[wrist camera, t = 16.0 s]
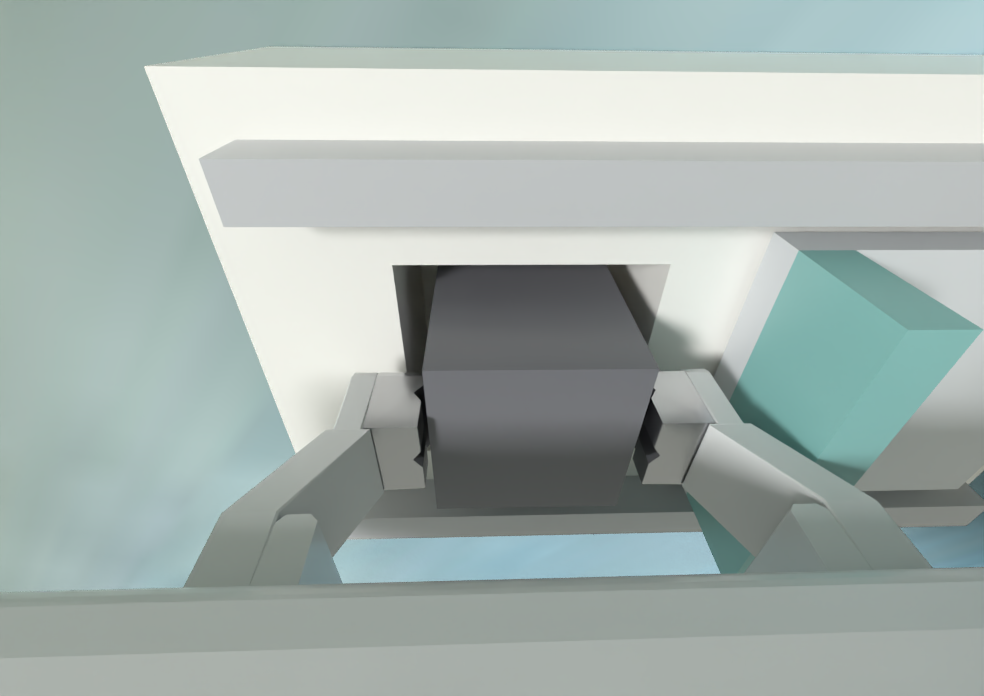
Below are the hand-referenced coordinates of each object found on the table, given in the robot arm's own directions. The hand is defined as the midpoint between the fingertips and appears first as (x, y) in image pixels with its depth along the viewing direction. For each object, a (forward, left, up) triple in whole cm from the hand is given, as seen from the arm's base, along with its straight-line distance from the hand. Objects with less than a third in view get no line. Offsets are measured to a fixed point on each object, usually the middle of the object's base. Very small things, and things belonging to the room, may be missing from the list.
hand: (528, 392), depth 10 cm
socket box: (0, +4, -6) cm, 7 cm away
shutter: (0, +8, -1) cm, 8 cm away
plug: (0, 0, -5) cm, 5 cm away
